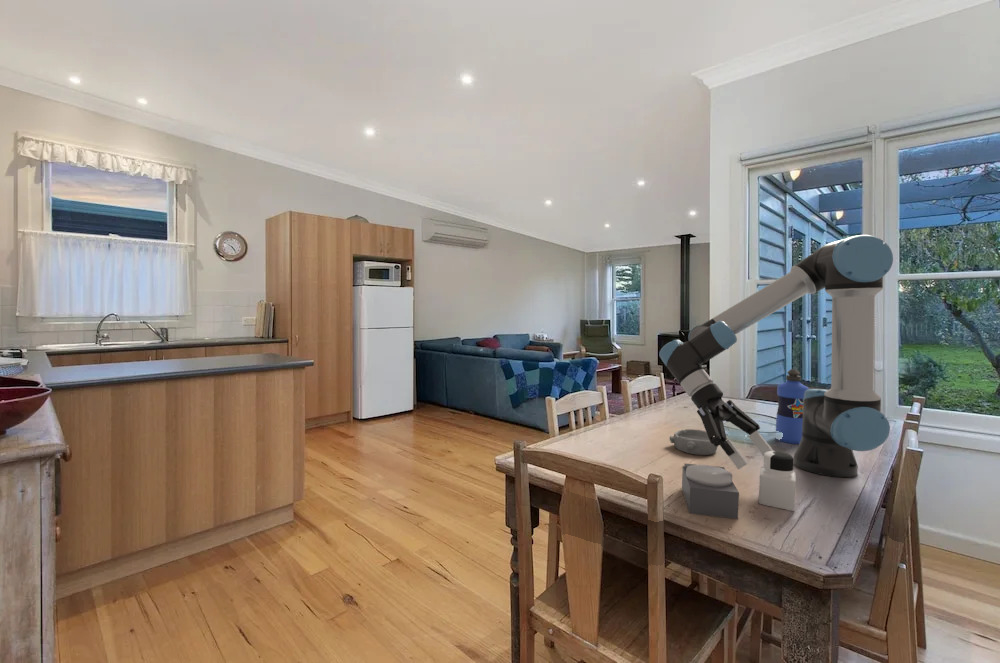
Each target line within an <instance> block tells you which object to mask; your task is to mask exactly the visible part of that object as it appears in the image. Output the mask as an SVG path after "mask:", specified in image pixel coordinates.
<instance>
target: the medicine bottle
mask: <svg viewBox="0 0 1000 663" xmlns="http://www.w3.org/2000/svg"><path fill="white" fill-rule="evenodd" d="M759 472H760V474H759V486H758V487H759V488H758V490H759V491H758V504H759V505H762V504H763V506H768V507H770V508H771V507H772V508H777V509H780V510H781V509H782V510H786V511H792V512H794V511H795V507H796V503H795V502H796V485H797V481H796V472H795V471H794V456H792V455H790V454H789V453H787V452H784V451H778V450H773V451H768V452H766V453H764V456H763V466H761V468H760V471H759Z"/></svg>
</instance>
